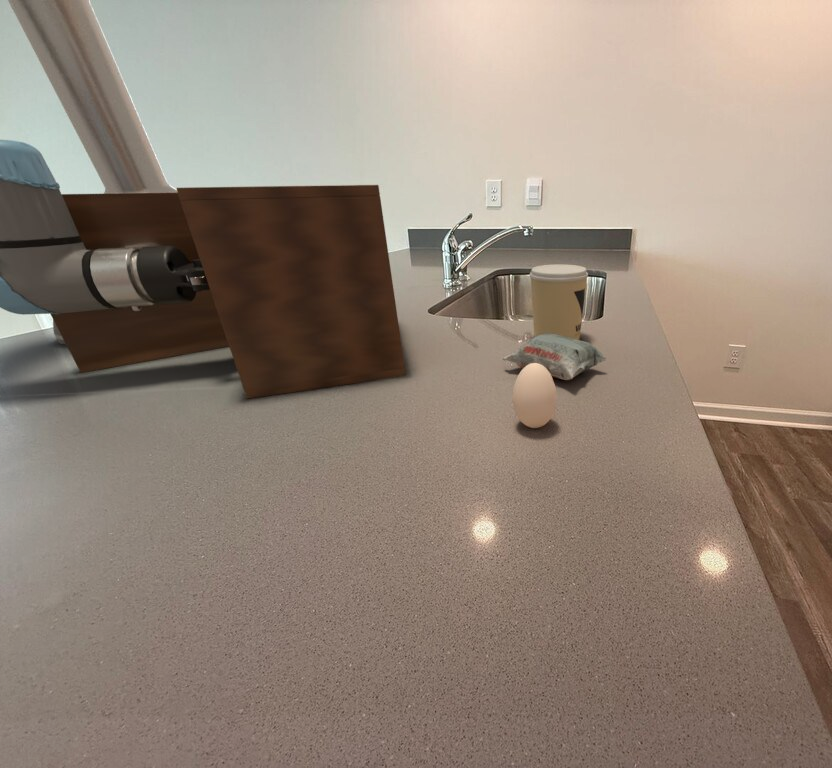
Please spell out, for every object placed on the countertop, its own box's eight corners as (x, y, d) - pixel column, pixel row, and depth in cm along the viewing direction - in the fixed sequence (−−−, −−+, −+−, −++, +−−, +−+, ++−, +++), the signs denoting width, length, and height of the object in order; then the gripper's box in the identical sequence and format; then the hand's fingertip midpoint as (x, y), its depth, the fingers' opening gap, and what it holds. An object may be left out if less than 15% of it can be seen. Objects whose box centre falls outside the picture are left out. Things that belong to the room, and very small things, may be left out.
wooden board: (246, 398, 52) (175, 187, 42) (281, 337, 75) (241, 190, 64) (406, 375, 58) (378, 184, 47) (393, 324, 80) (373, 188, 70)
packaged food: (571, 394, 51) (573, 357, 49) (502, 371, 58) (501, 338, 56) (605, 373, 57) (608, 339, 55) (538, 354, 64) (539, 324, 62)
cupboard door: (89, 359, 66) (7, 195, 55) (272, 328, 79) (234, 192, 69) (80, 372, 61) (-12, 195, 50) (277, 337, 74) (236, 191, 64)
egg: (528, 442, 42) (527, 376, 39) (505, 422, 45) (503, 361, 42) (564, 429, 44) (567, 366, 41) (540, 411, 47) (540, 352, 44)
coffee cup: (588, 348, 66) (592, 273, 61) (530, 349, 66) (530, 274, 61) (580, 330, 75) (583, 263, 69) (529, 331, 75) (529, 264, 70)
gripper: (184, 292, 63) (345, 280, 69) (132, 319, 49) (339, 301, 55) (165, 241, 60) (336, 233, 66) (104, 255, 46) (327, 243, 52)
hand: (337, 264), depth 61 cm, fingers closed on salt shaker, 3 cm apart
